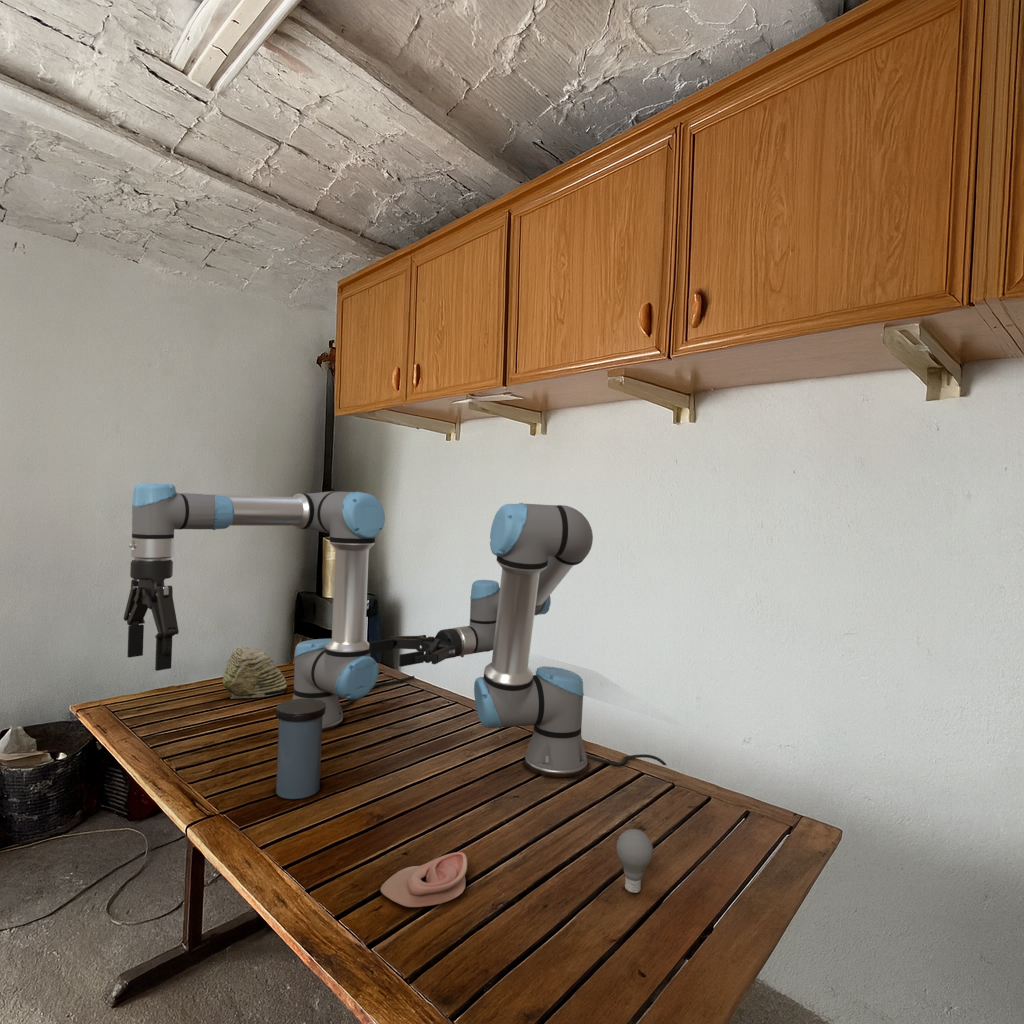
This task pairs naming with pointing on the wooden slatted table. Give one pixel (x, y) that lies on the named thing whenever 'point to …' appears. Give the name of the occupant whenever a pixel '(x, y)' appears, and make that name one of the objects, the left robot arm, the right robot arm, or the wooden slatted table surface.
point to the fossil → (252, 674)
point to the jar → (298, 758)
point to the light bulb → (634, 857)
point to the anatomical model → (428, 882)
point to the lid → (300, 710)
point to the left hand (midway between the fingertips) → (148, 662)
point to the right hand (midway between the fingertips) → (384, 654)
